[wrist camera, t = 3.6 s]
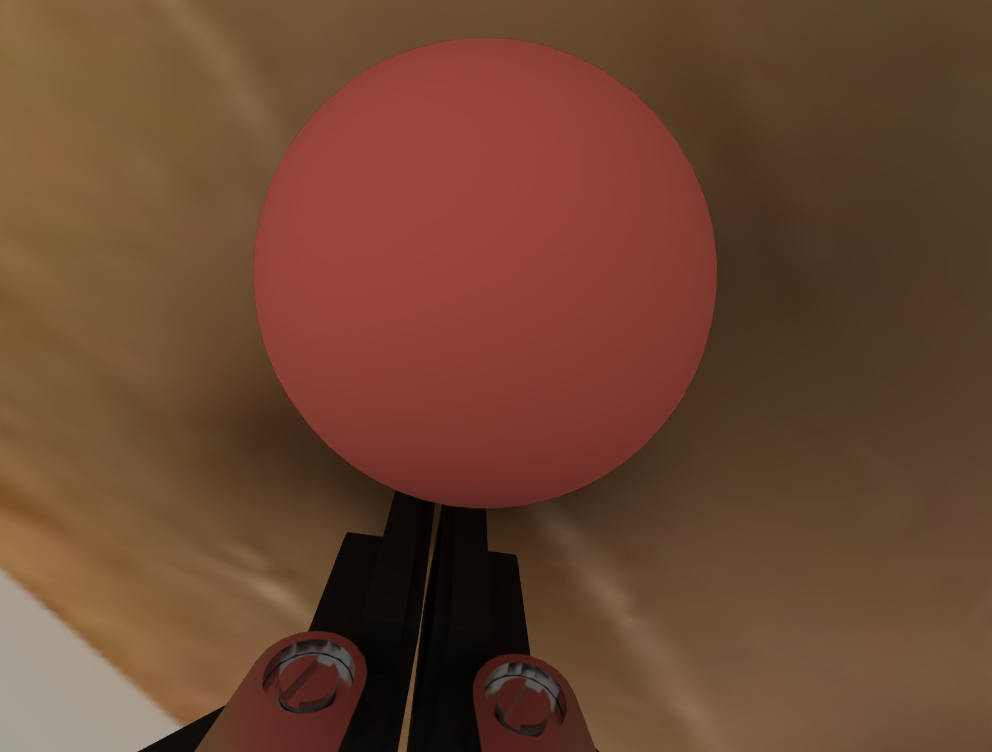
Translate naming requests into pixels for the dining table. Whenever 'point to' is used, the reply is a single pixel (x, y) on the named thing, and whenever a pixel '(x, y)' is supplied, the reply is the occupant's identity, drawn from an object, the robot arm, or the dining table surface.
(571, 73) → the ball
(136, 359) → the dining table surface
